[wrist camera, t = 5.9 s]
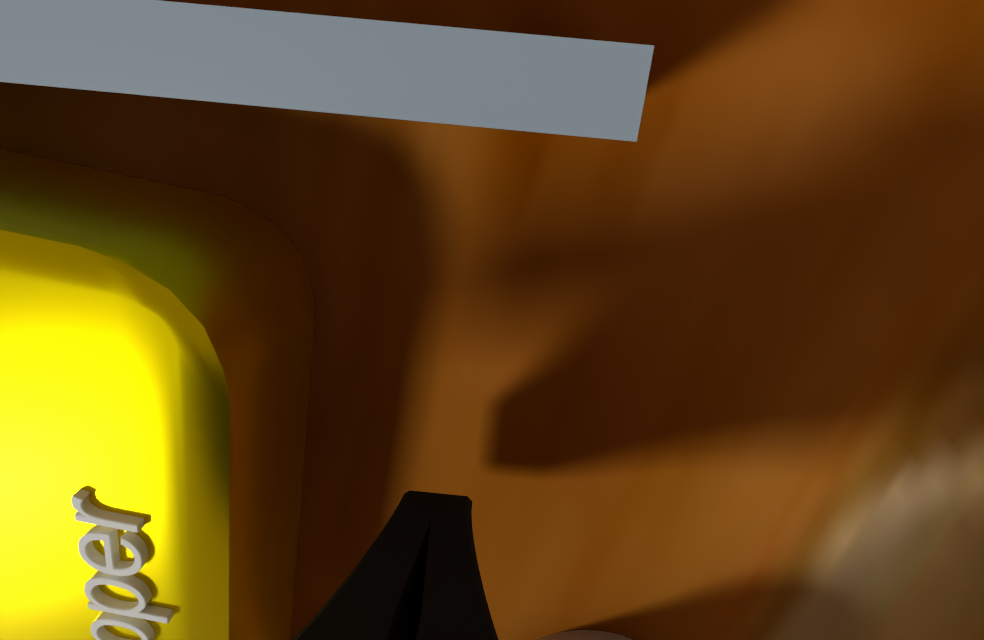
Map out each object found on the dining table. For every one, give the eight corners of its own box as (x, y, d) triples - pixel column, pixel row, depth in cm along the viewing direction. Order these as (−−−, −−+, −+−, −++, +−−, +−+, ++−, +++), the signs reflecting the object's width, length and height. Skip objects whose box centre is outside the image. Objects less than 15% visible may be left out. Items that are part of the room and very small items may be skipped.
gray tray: (498, 757, 18) (491, 928, 14) (-192, 679, 18) (-371, 827, 15) (604, 60, 10) (654, 45, 6) (-680, -58, 10) (-1386, -140, 6)
